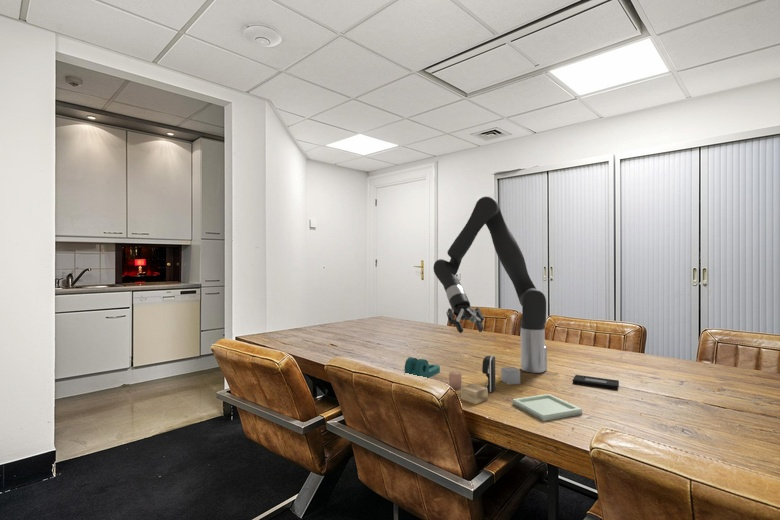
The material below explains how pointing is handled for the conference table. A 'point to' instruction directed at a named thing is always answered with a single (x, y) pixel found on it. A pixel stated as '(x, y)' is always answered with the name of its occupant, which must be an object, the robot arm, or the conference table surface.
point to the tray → (547, 407)
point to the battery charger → (489, 372)
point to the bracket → (421, 367)
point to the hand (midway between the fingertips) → (471, 331)
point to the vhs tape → (596, 382)
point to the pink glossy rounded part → (455, 380)
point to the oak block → (474, 393)
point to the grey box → (510, 375)
